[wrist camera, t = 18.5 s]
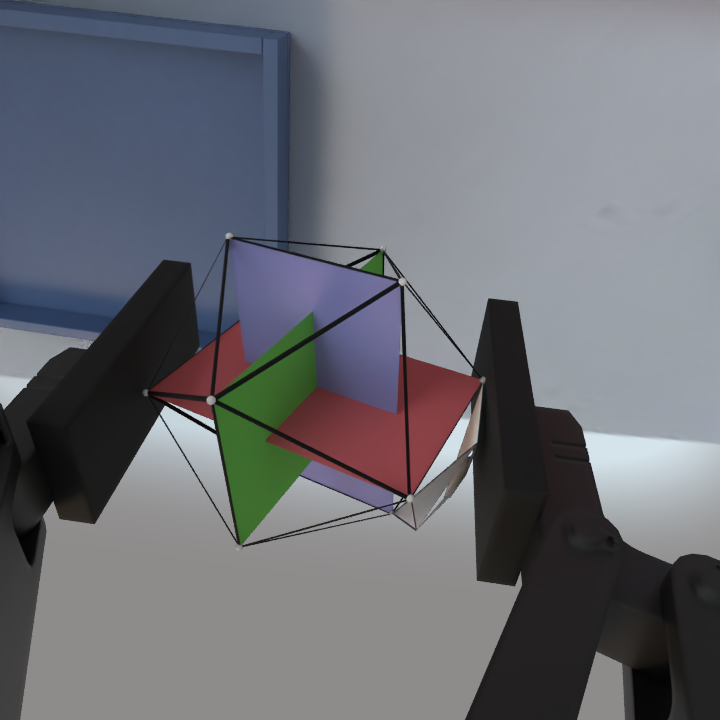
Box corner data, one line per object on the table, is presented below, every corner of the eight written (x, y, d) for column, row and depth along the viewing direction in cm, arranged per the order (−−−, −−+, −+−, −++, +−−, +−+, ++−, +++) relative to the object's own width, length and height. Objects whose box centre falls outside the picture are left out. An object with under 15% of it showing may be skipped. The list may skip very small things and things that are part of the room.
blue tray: (-15, 303, 34) (-39, 321, 33) (-118, -14, 25) (-158, -10, 24) (286, 346, 33) (277, 368, 32) (290, 31, 24) (278, 39, 23)
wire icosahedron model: (148, 442, 18) (252, 688, 12) (85, 220, 14) (196, 434, 8) (363, 368, 21) (527, 538, 15) (363, 165, 17) (588, 295, 11)
